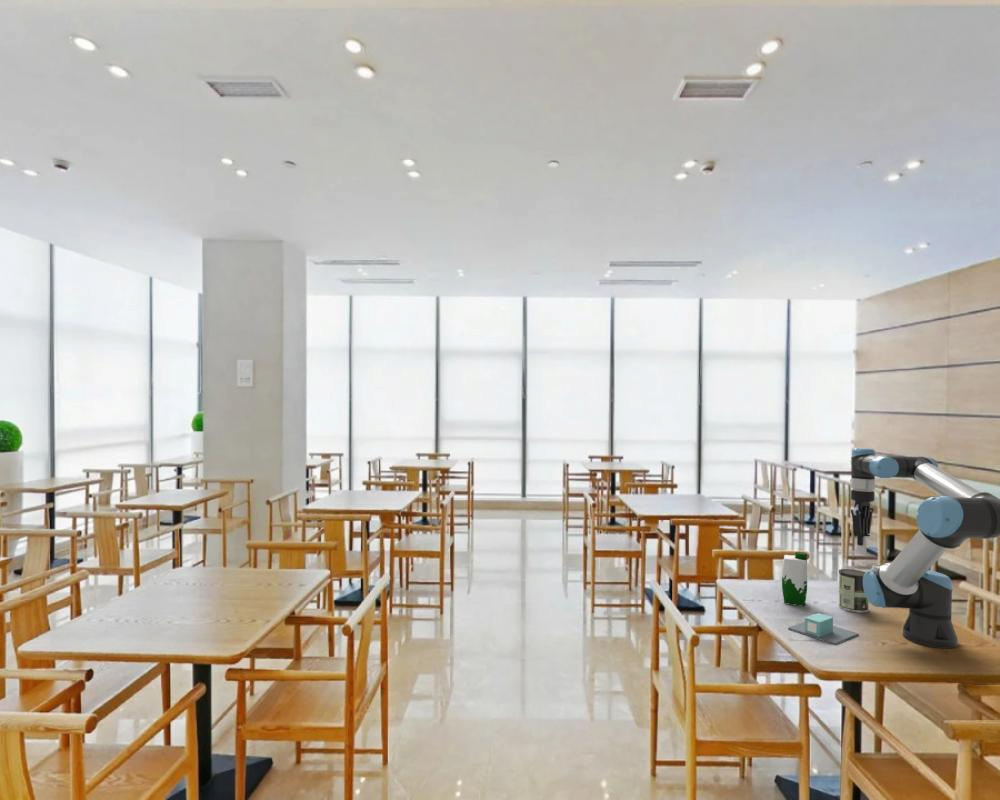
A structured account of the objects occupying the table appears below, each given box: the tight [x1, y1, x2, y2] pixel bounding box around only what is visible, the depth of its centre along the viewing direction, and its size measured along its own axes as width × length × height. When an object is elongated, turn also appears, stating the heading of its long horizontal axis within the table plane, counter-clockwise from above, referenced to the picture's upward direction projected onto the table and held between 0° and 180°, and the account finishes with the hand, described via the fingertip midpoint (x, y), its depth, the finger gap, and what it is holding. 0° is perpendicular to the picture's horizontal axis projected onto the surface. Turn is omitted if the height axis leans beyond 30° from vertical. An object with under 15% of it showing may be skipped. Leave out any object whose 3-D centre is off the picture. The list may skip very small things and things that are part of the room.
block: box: [804, 612, 834, 637], centre depth 205 cm, size 5×5×9 cm
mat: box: [787, 621, 859, 645], centre depth 207 cm, size 16×16×1 cm
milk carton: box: [781, 551, 808, 607], centre depth 239 cm, size 9×9×20 cm
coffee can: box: [838, 568, 870, 614], centre depth 234 cm, size 10×10×14 cm
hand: (861, 553), depth 221 cm, fingers closed
